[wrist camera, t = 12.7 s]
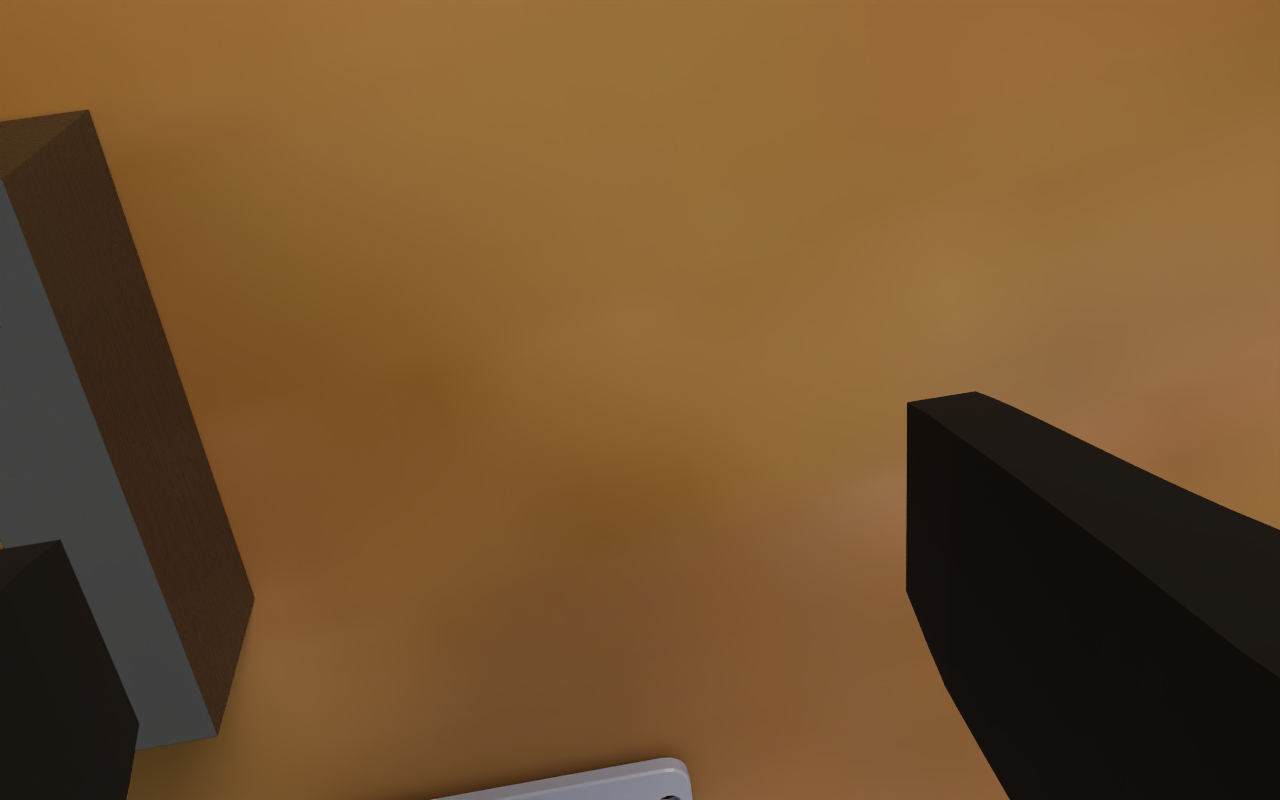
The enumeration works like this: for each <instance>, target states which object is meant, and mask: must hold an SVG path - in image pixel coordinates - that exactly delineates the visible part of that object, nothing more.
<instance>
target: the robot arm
mask: <svg viewBox="0 0 1280 800" xmlns="http://www.w3.org/2000/svg"><path fill="white" fill-rule="evenodd" d="M906 592H907V594H908V597H909V599H910V602H911V604H912V607H913V609H914V612H915V614H916V617H917V619H918V622H919V624H920V627H921V629H922V632H923V635H924V637H925V640H926V642H927V645H928V647H929V649H930V652H931V654H932V656H933V659H934V661H935V663H936V666H937V668H938V670H939V673H940V675H941V677H942V680H943V682H944V685H945V687H946V689H947V690H948V692H949V694H950V696H951V698H952V699H953V701H954V703H955V705H956V707H957V708H958V710H959V712H960V714H961V715H962V717H963V719H964V721H965V722H966V724H967V726H968V728H969V729H970V731H971V733H972V735H973V736H974V738H975V740H976V742H977V743H978V745H979V747H980V749H981V750H982V752H983V754H984V756H985V757H986V759H987V761H988V763H989V764H990V766H991V768H992V770H993V771H994V773H995V775H996V776H997V778H998V780H999V782H1000V783H1001V785H1002V787H1003V789H1004V790H1005V792H1006V794H1007V795H1008V797H1009V799H1010V800H1280V530H1279V529H1276V528H1274V527H1271V526H1269V525H1267V524H1264V523H1262V522H1259V521H1257V520H1254V519H1252V518H1250V517H1247V516H1245V515H1242V514H1240V513H1238V512H1235V511H1233V510H1230V509H1228V508H1226V507H1224V506H1221V505H1219V504H1217V503H1215V502H1212V501H1210V500H1208V499H1206V498H1203V497H1201V496H1199V495H1197V494H1194V493H1192V492H1190V491H1188V490H1186V489H1184V488H1181V487H1179V486H1177V485H1175V484H1173V483H1170V482H1168V481H1166V480H1164V479H1162V478H1160V477H1158V476H1156V475H1153V474H1151V473H1149V472H1147V471H1145V470H1143V469H1141V468H1139V467H1137V466H1134V465H1132V464H1130V463H1128V462H1126V461H1124V460H1122V459H1120V458H1118V457H1116V456H1114V455H1112V454H1110V453H1107V452H1105V451H1103V450H1101V449H1099V448H1097V447H1095V446H1093V445H1091V444H1089V443H1087V442H1085V441H1083V440H1081V439H1079V438H1077V437H1075V436H1073V435H1071V434H1069V433H1067V432H1065V431H1062V430H1060V429H1058V428H1056V427H1054V426H1052V425H1050V424H1048V423H1046V422H1044V421H1042V420H1040V419H1038V418H1036V417H1034V416H1031V415H1029V414H1027V413H1025V412H1023V411H1021V410H1019V409H1017V408H1014V407H1012V406H1010V405H1008V404H1006V403H1003V402H1001V401H999V400H996V399H994V398H992V397H989V396H986V395H984V394H981V393H979V392H976V391H975V392H968V393H962V394H956V395H950V396H944V397H937V398H931V399H925V400H919V401H913V402H907V531H906ZM138 729H139V721H138V719H137V717H136V714H135V712H134V710H133V707H132V705H131V703H130V700H129V698H128V696H127V693H126V691H125V689H124V686H123V684H122V682H121V679H120V677H119V675H118V672H117V670H116V668H115V665H114V663H113V661H112V658H111V656H110V654H109V651H108V649H107V647H106V644H105V642H104V640H103V637H102V635H101V633H100V630H99V628H98V626H97V623H96V621H95V619H94V616H93V614H92V612H91V609H90V607H89V605H88V602H87V600H86V598H85V595H84V593H83V591H82V588H81V586H80V584H79V581H78V579H77V577H76V574H75V572H74V570H73V567H72V565H71V563H70V560H69V558H68V556H67V553H66V551H65V549H64V546H63V544H62V542H61V540H54V541H48V542H42V543H36V544H30V545H24V546H17V547H11V548H5V549H0V800H126V798H127V793H128V788H129V783H130V777H131V771H132V765H133V759H134V753H135V747H136V741H137V735H138ZM666 796H674V797H672V798H669V799H661V798H663V797H666ZM431 800H692V792H691V784H690V778H689V774H688V770H687V768H686V765H685V764H684V763H683V762H681V761H680V760H678V759H675V758H658V759H653V760H647V761H642V762H636V763H631V764H625V765H619V766H614V767H608V768H603V769H597V770H592V771H586V772H581V773H575V774H570V775H564V776H559V777H553V778H548V779H542V780H536V781H531V782H525V783H520V784H514V785H509V786H503V787H498V788H492V789H487V790H481V791H476V792H470V793H465V794H459V795H453V796H448V797H442V798H437V799H431Z"/></svg>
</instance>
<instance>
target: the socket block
mask: <svg viewBox="0 0 1280 800" xmlns="http://www.w3.org/2000/svg"><path fill="white" fill-rule="evenodd" d="M0 540H1V542H2V544H3V546H4V548H11V547H17V546H24V545H30V544H36V543H42V542H48V541H54V540H61V542H62V544H63V546H64V549H65V551H66V553H67V556H68V558H69V560H70V563H71V565H72V567H73V570H74V572H75V574H76V577H77V579H78V581H79V584H80V586H81V588H82V591H83V593H84V595H85V598H86V600H87V602H88V605H89V607H90V609H91V612H92V614H93V616H94V619H95V621H96V623H97V626H98V628H99V630H100V633H101V635H102V637H103V640H104V642H105V644H106V647H107V649H108V651H109V654H110V656H111V658H112V661H113V663H114V665H115V668H116V670H117V672H118V675H119V677H120V679H121V682H122V684H123V686H124V689H125V691H126V693H127V696H128V698H129V700H130V703H131V705H132V707H133V710H134V712H135V714H136V717H137V719H138V721H139V729H138V735H137V741H136V747H135V751H136V750H142V749H148V748H153V747H159V746H165V745H171V744H176V743H182V742H188V741H193V740H199V739H205V738H211V737H216V736H218V733H219V729H220V725H221V722H222V718H223V714H224V711H225V707H226V703H227V699H228V696H229V692H230V688H231V684H232V681H233V677H234V673H235V670H236V666H237V662H238V658H239V655H240V651H241V647H242V644H243V640H244V636H245V632H246V629H247V625H248V621H249V617H250V614H251V610H252V606H253V603H254V599H255V598H254V595H253V592H252V589H251V586H250V583H249V581H248V578H247V575H246V572H245V569H244V566H243V563H242V560H241V557H240V554H239V551H238V548H237V545H236V542H235V539H234V536H233V533H232V530H231V528H230V525H229V522H228V519H227V516H226V513H225V510H224V507H223V504H222V501H221V498H220V495H219V492H218V489H217V486H216V483H215V480H214V477H213V475H212V472H211V469H210V466H209V463H208V460H207V457H206V454H205V451H204V448H203V445H202V442H201V439H200V436H199V433H198V430H197V427H196V424H195V422H194V419H193V416H192V413H191V410H190V407H189V404H188V401H187V398H186V395H185V392H184V389H183V386H182V383H181V380H180V377H179V374H178V371H177V369H176V366H175V363H174V360H173V357H172V354H171V351H170V348H169V345H168V342H167V339H166V336H165V333H164V330H163V327H162V324H161V321H160V318H159V316H158V313H157V310H156V307H155V304H154V301H153V298H152V295H151V292H150V289H149V286H148V283H147V280H146V277H145V274H144V271H143V268H142V266H141V263H140V260H139V257H138V254H137V251H136V248H135V245H134V242H133V239H132V236H131V233H130V230H129V227H128V224H127V221H126V218H125V215H124V213H123V210H122V207H121V204H120V201H119V198H118V195H117V192H116V189H115V186H114V183H113V180H112V177H111V174H110V171H109V168H108V165H107V162H106V160H105V157H104V154H103V151H102V148H101V145H100V142H99V139H98V136H97V133H96V130H95V127H94V124H93V121H92V118H91V115H90V112H89V110H83V111H75V112H68V113H61V114H53V115H46V116H39V117H32V118H24V119H17V120H10V121H3V122H0Z"/></svg>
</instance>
